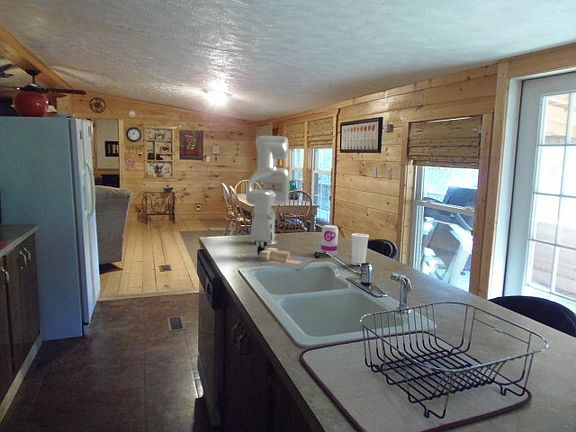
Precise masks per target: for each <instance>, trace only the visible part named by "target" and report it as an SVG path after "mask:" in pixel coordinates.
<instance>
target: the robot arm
mask: <svg viewBox="0 0 576 432" xmlns="http://www.w3.org/2000/svg"><path fill="white" fill-rule="evenodd" d="M255 145H256V149H257V153H258V156H257V157H258V158H257V170H256V171H254V173H252V175H251V176H250V178H249V179H248V180H247V186H246V194H245V195H246V196H245V197H246V202H247V204H249V205H254V209H253V211H254V212H253V213H254V216H253V219H252V222H251V227H250V242H251V243H253V244H254V245H256V248H257V249H256V250H257V252H256V253H258V255H259V252H261V251H263V250H266V249H265V247H266V246H273V245H276V244H277V243H278V241H277V240H275V238H276V237H277V235H276V234H275V225H276V223H275V222H276V211H275V210H274V208H273V206H274V205H275V206H285V205H287V204H288V203H289V199H290V198H289V195H290V193H289V192H290V173H289V170H288V169H287V168H284V167H277V160H285V159H287V157H288V152H289V139H288V138H287V136H281V135H280V136H279V135H277V136H276V135H259V136H257V137H256V138H255ZM258 181H260V182H261V184H263V185H268V186H264V187H263V186H261V187H260V188H259V189H255V188H254V189H253V187H254V185H255V184H256V183H257V182H258ZM269 185H270V186H271V187H270V186H269ZM272 186H279V187H272ZM272 205H273V206H272Z"/></svg>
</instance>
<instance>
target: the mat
mask: <svg viewBox="0 0 576 432" xmlns="http://www.w3.org/2000/svg"><path fill="white" fill-rule="evenodd" d="M313 260H314V261H316V260H317V259H316V258H313V257H307V256H300V255H299V256H298V255H292V254H290V259H289V261H287V262H282V261H275V260H269V261H260V260H259V255H258V253H257V252H255V253H251V254H250V255H248V256H246V257H243V258H241V259H239V260H238V262H241V263H249V264H257V265H264V266H269V267H270V266H271V267H277V268H283V269H284V268H285V269H292V270H295V271H300V270H301V269H303V268H305V267H306V266H308V265H309V264H311V263H312V262H314V261H313ZM310 262H311V263H310ZM307 264H308V265H307Z"/></svg>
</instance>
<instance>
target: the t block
mask: <svg viewBox="0 0 576 432" xmlns="http://www.w3.org/2000/svg"><path fill="white" fill-rule="evenodd" d="M278 249H279V248H278V247H277V248H275V247H268V248H266V249H264V250H263V251H261V252H259V260H260V261H269V260H275V261H282V262H287V261H289V259H290V255H291V252H290V251H285V250H278Z"/></svg>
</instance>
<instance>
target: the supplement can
mask: <svg viewBox="0 0 576 432" xmlns="http://www.w3.org/2000/svg"><path fill="white" fill-rule="evenodd" d="M320 238H321V239H320V240H321V243H320V253H321V252H324V253H328V254H330V255H332V256H334V257H336V256H337V255H338V244H339V243H338V240H339V239H338V238H339V228H338V226H337V225H330V224H329V225H328V224H324V225H323V226H322V228H321V237H320ZM335 255H336V256H335Z"/></svg>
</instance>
